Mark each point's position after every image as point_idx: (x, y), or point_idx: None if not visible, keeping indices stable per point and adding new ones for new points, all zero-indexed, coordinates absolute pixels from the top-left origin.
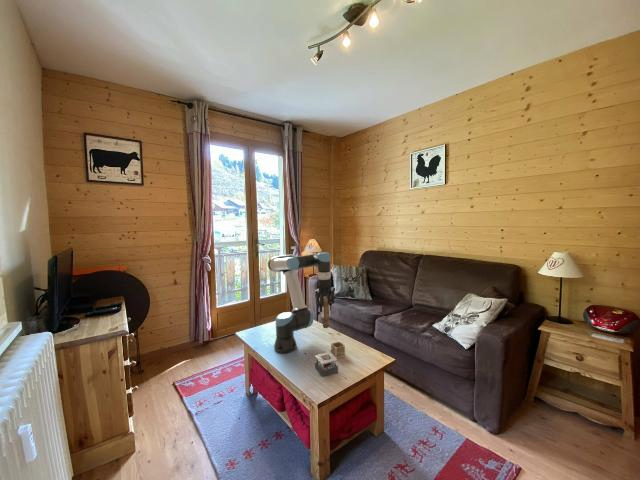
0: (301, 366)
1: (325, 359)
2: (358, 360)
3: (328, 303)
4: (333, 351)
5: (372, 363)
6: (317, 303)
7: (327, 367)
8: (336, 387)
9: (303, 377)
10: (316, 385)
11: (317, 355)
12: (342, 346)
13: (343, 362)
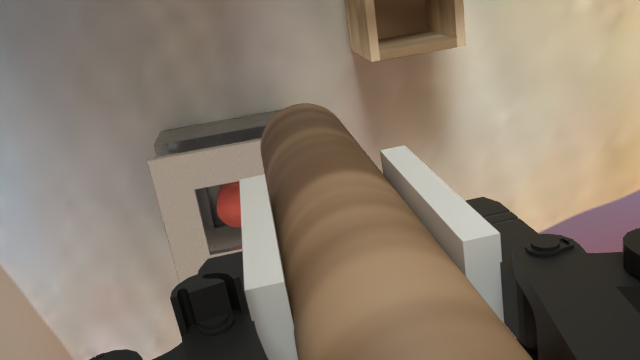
0: (53, 78)
1: (235, 199)
2: (496, 118)
3: (524, 292)
4: (353, 8)
5: (561, 176)
6: None
7: (235, 243)
8: None
9: (60, 215)
10: (139, 307)
11: (172, 167)
12: (440, 48)
13: (387, 113)
